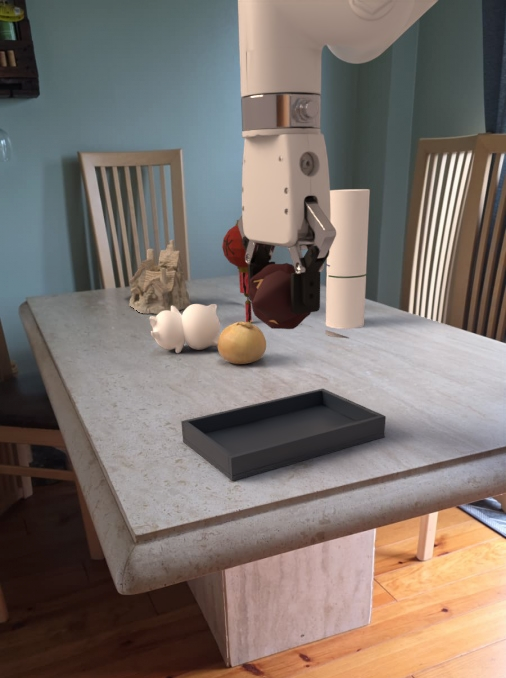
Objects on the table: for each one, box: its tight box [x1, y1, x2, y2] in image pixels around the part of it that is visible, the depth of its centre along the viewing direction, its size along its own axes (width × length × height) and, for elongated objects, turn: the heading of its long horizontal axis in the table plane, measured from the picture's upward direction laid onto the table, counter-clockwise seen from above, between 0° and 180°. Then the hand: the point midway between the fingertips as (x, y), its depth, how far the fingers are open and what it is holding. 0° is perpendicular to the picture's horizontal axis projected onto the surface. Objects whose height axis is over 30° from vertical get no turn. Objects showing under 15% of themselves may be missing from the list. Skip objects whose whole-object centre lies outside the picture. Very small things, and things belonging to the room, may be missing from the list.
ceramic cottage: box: [128, 239, 192, 315], centre depth 143 cm, size 16×16×15 cm
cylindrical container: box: [325, 188, 371, 339], centre depth 113 cm, size 7×7×25 cm
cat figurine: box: [149, 303, 221, 354], centre depth 110 cm, size 9×11×12 cm
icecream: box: [249, 262, 311, 330], centre depth 66 cm, size 7×7×15 cm
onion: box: [217, 319, 267, 365], centre depth 101 cm, size 8×8×7 cm
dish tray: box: [180, 387, 387, 482], centre depth 72 cm, size 12×20×3 cm, turn 120°
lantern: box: [221, 162, 265, 324], centre depth 122 cm, size 10×10×30 cm
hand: (282, 304), depth 66 cm, fingers closed on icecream, 7 cm apart
